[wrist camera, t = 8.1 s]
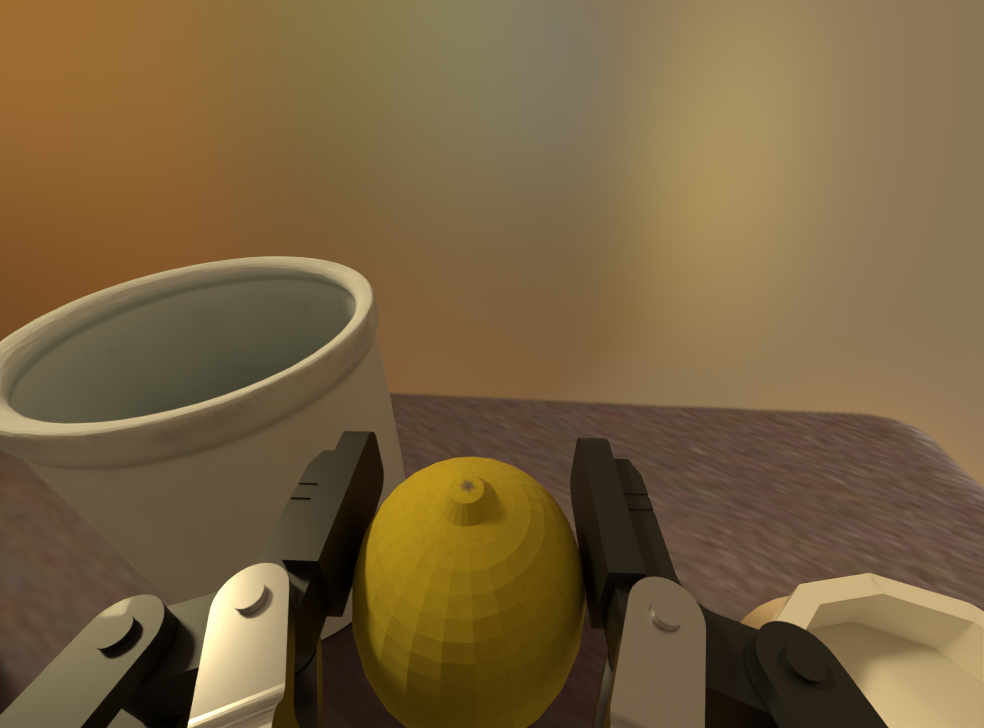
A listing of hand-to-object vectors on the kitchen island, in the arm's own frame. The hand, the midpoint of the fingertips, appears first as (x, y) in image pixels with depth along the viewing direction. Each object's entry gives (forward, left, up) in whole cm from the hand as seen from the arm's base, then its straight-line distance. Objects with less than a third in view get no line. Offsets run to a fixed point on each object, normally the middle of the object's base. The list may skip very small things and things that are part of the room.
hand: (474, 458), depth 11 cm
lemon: (-2, -2, -6) cm, 7 cm away
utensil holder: (-5, +14, -17) cm, 23 cm away
